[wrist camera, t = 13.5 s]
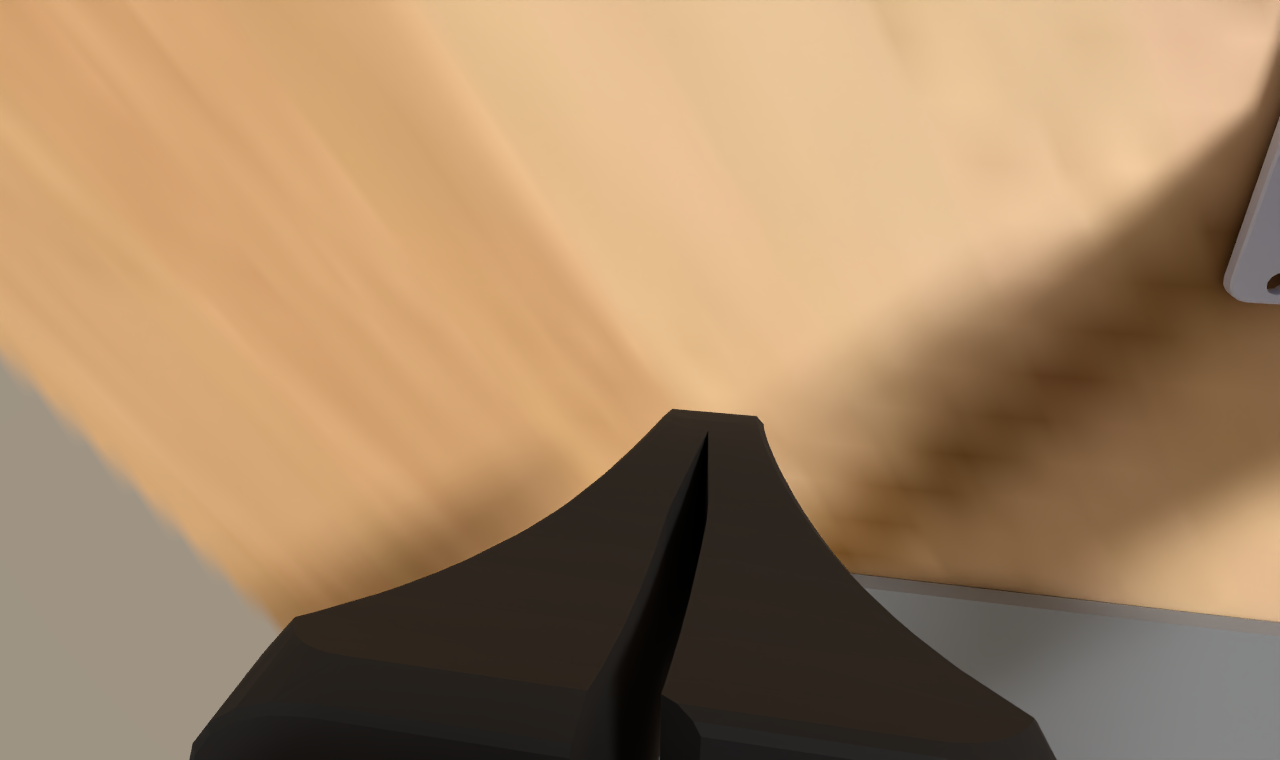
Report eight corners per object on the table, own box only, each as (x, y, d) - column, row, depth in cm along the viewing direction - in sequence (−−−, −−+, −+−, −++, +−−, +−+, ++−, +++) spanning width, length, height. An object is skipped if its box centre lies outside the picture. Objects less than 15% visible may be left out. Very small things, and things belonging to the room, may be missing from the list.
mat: (1417, 638, 22) (1433, 654, 21) (1253, 919, 27) (1262, 938, 27) (631, 548, 25) (627, 560, 24) (631, 815, 31) (628, 829, 30)
